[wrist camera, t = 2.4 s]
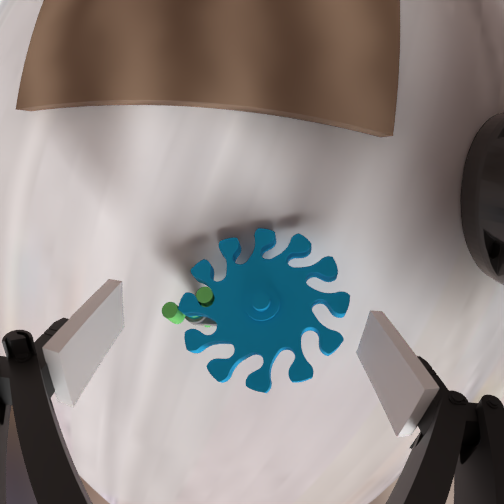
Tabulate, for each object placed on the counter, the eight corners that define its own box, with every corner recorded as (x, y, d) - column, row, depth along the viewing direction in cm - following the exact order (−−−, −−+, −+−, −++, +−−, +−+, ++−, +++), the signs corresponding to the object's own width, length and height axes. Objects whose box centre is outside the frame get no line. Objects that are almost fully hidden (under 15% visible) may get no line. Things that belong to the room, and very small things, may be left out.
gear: (345, 220, 18) (354, 391, 14) (336, 263, 24) (340, 394, 19) (172, 226, 20) (147, 380, 16) (198, 265, 25) (184, 388, 21)
